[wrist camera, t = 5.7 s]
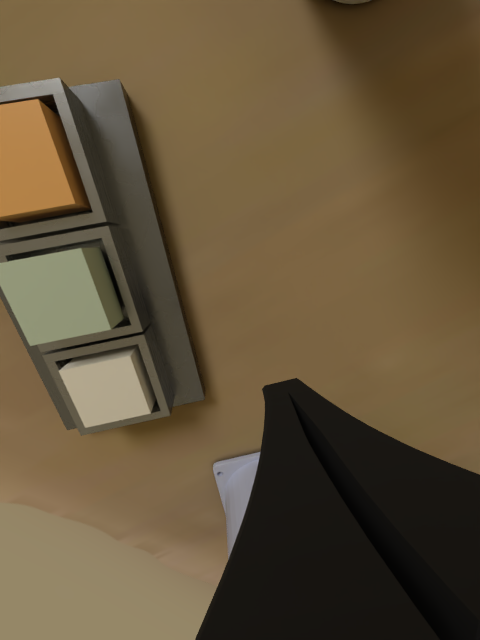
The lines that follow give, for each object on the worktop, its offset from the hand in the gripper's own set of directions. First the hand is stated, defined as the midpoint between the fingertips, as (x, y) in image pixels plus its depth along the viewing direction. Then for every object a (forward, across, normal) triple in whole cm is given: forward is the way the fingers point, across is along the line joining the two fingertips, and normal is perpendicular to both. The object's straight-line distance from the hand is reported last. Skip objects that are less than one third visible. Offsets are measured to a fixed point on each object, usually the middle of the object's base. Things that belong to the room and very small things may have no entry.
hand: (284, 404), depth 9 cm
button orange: (+8, +9, -11) cm, 16 cm away
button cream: (+8, +9, +1) cm, 12 cm away
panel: (+9, +9, -5) cm, 14 cm away
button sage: (+7, +9, -5) cm, 13 cm away
